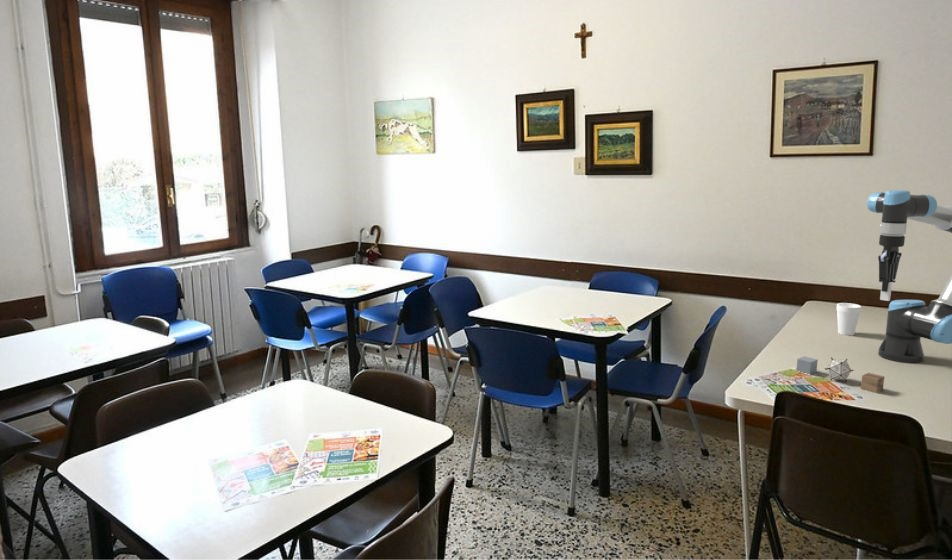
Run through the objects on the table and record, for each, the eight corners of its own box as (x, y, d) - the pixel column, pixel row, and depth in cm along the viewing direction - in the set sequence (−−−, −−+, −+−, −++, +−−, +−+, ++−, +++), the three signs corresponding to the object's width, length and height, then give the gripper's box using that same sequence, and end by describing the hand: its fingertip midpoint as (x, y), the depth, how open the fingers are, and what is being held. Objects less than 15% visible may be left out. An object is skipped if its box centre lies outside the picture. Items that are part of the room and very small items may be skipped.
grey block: (803, 368, 249) (804, 356, 248) (816, 372, 245) (817, 359, 244) (796, 371, 246) (797, 358, 245) (809, 375, 242) (810, 362, 241)
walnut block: (867, 386, 231) (869, 372, 230) (882, 390, 227) (884, 376, 226) (860, 389, 228) (862, 375, 227) (876, 393, 224) (877, 379, 223)
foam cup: (862, 336, 289) (865, 307, 286) (841, 336, 289) (844, 308, 287) (850, 330, 298) (853, 302, 296) (830, 330, 298) (832, 303, 296)
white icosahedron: (839, 388, 238) (856, 366, 238) (844, 388, 230) (862, 365, 230) (816, 373, 241) (833, 351, 241) (820, 372, 233) (838, 350, 233)
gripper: (889, 232, 237) (881, 295, 242) (872, 235, 230) (865, 300, 234) (912, 234, 231) (904, 299, 236) (895, 237, 224) (888, 304, 228)
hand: (884, 300), depth 235 cm, fingers closed
